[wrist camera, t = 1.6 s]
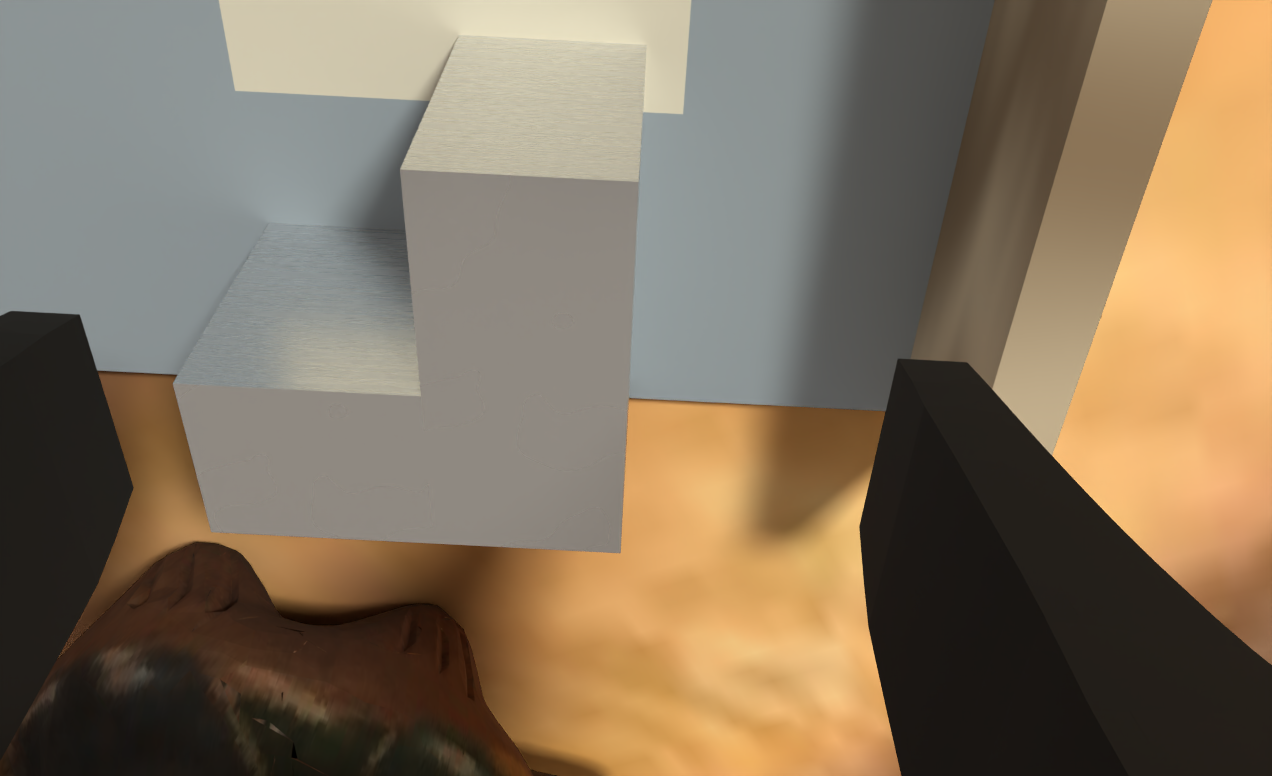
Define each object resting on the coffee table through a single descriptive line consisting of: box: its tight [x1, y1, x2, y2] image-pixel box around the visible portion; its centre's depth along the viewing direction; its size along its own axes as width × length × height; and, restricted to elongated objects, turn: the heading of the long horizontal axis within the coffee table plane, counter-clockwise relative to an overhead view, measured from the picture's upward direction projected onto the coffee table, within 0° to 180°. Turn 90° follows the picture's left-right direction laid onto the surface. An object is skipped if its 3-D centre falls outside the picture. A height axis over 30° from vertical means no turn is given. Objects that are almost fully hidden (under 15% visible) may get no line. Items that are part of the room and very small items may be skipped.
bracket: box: [173, 35, 647, 553], centre depth 15 cm, size 6×6×4 cm
